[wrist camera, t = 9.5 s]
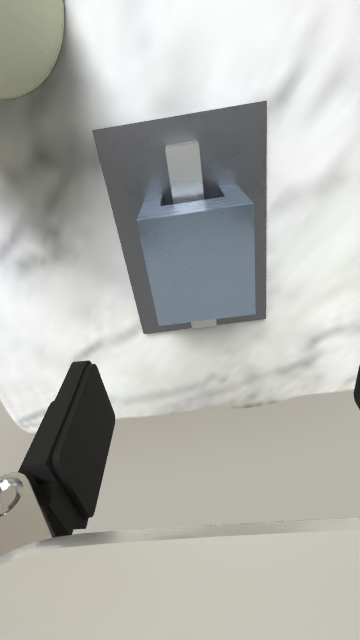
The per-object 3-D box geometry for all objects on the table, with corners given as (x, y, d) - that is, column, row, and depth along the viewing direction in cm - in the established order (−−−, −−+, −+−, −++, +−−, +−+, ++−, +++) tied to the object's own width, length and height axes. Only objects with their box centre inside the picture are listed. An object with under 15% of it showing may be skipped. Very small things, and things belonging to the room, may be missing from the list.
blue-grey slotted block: (236, 183, 22) (254, 203, 17) (240, 279, 26) (255, 319, 21) (145, 197, 22) (136, 220, 17) (162, 289, 26) (159, 331, 21)
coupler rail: (263, 101, 20) (277, 98, 17) (263, 313, 29) (272, 334, 26) (95, 130, 21) (83, 131, 18) (144, 328, 29) (141, 350, 27)
